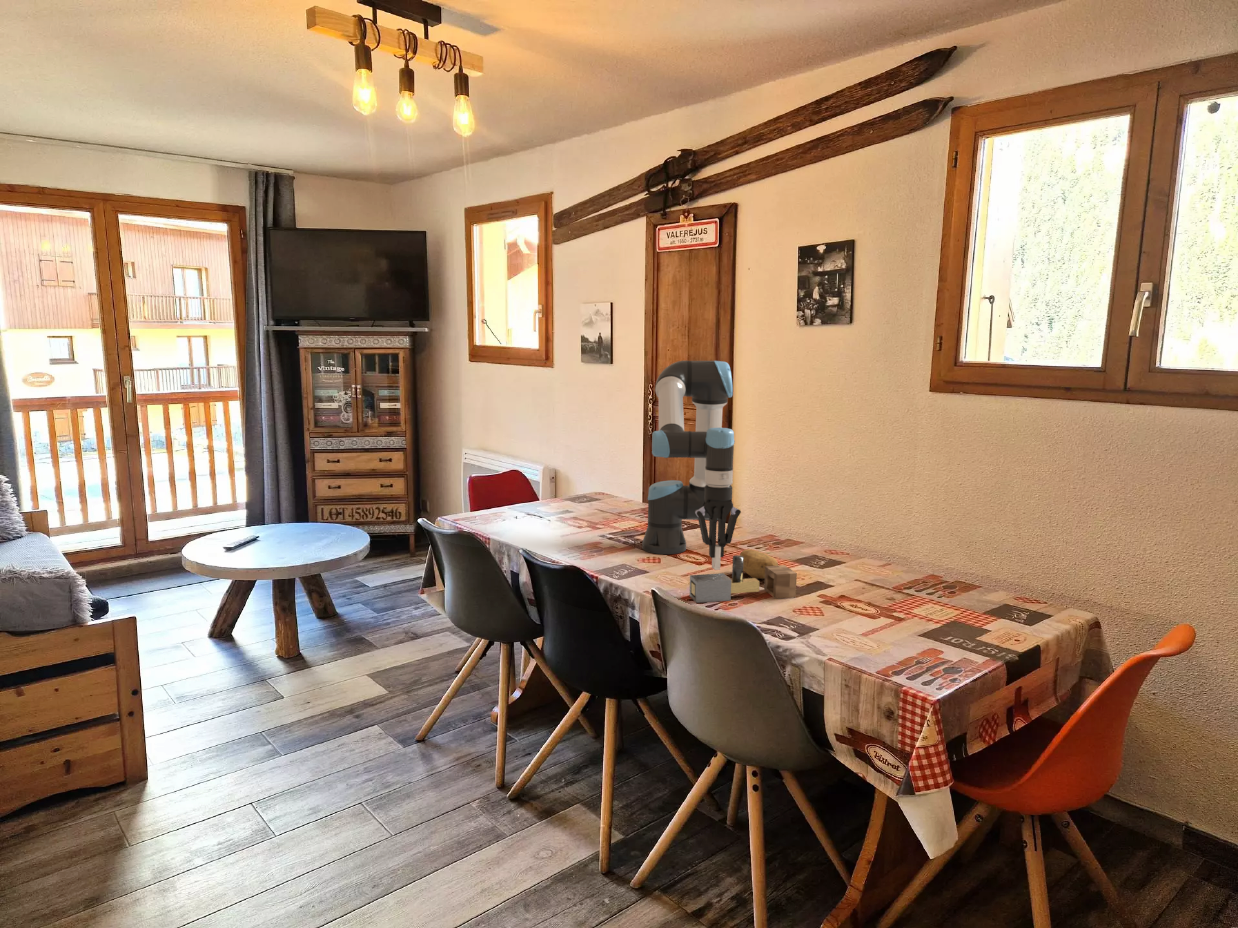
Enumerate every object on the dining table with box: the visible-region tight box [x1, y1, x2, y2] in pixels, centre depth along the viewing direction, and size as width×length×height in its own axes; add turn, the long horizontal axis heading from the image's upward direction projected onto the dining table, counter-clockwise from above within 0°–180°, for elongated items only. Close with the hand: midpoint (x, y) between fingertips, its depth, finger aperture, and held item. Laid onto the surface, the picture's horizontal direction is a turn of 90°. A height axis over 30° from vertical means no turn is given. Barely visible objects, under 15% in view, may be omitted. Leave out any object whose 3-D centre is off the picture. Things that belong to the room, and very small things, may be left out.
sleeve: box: [688, 572, 732, 604], centre depth 215 cm, size 6×10×6 cm, turn 103°
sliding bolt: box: [691, 554, 760, 596], centre depth 216 cm, size 3×19×10 cm, turn 103°
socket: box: [763, 564, 798, 600], centre depth 220 cm, size 8×6×7 cm
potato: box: [739, 548, 779, 580], centre depth 234 cm, size 10×14×8 cm
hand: (715, 568), depth 214 cm, fingers closed
